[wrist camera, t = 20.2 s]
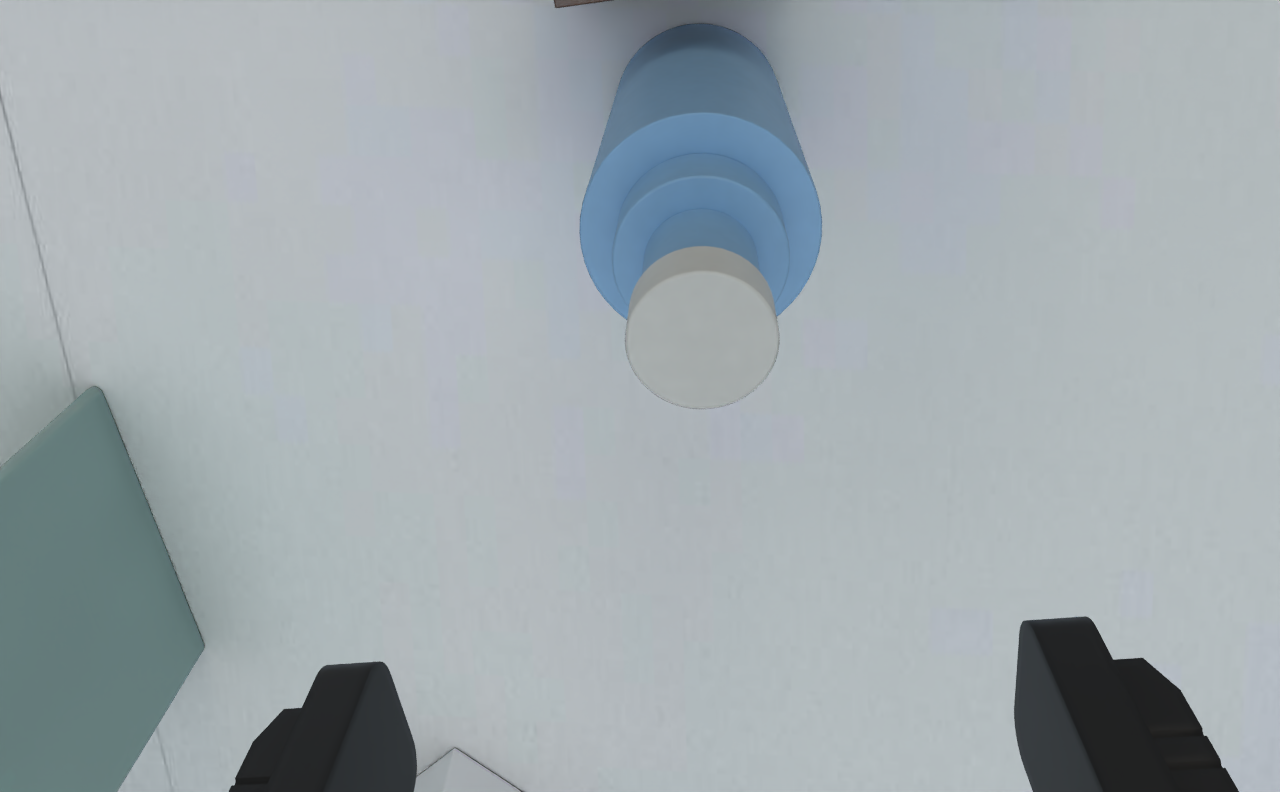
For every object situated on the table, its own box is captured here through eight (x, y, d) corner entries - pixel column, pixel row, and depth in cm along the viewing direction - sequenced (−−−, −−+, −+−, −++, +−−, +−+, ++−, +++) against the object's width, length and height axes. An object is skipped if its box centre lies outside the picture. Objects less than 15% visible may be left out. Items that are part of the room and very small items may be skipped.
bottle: (621, 102, 41) (516, -299, 24) (774, 82, 41) (777, -343, 24) (648, 525, 36) (540, 394, 19) (823, 511, 36) (871, 362, 19)
